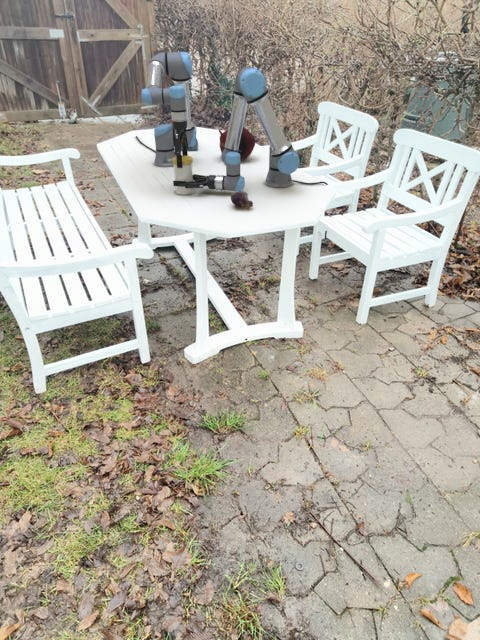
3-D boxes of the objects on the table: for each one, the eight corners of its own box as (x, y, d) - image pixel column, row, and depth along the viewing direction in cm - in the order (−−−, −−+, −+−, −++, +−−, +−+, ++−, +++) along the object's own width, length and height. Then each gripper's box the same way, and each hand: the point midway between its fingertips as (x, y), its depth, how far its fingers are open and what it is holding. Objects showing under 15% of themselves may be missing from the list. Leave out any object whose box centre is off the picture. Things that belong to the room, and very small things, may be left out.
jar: (197, 192, 247) (194, 159, 237) (180, 195, 243) (177, 162, 233) (188, 187, 254) (186, 155, 244) (173, 190, 250) (169, 158, 240)
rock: (244, 204, 234) (227, 207, 230) (243, 188, 230) (225, 190, 226) (255, 208, 224) (237, 211, 220) (254, 190, 221) (236, 193, 216)
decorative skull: (216, 132, 305) (216, 129, 282) (250, 124, 304) (252, 121, 281) (223, 164, 312) (223, 164, 288) (256, 157, 311) (259, 156, 288)
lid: (196, 163, 238) (196, 158, 237) (177, 166, 233) (177, 162, 232) (187, 158, 246) (186, 154, 244) (169, 161, 241) (168, 157, 240)
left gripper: (178, 115, 238) (181, 158, 250) (165, 124, 219) (169, 170, 231) (192, 116, 236) (194, 159, 249) (180, 125, 218) (183, 171, 230)
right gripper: (211, 196, 235) (170, 193, 239) (221, 182, 253) (183, 180, 257) (210, 182, 231) (169, 179, 234) (220, 169, 249) (182, 167, 253)
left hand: (182, 164), depth 240 cm, fingers closed on lid, 11 cm apart
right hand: (176, 180), depth 246 cm, fingers closed on jar, 10 cm apart
